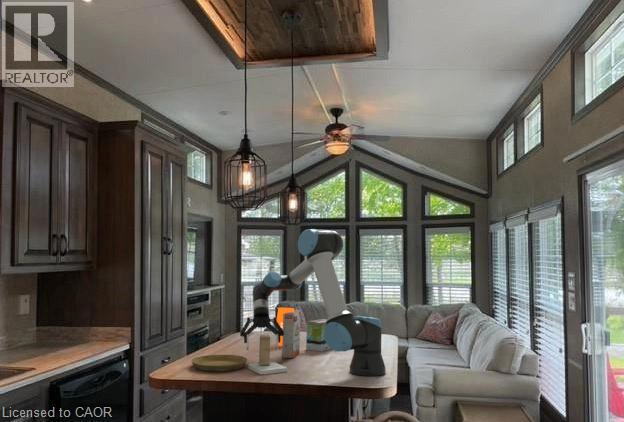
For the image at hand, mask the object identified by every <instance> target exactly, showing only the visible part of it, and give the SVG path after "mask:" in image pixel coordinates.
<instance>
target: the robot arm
mask: <svg viewBox="0 0 624 422" xmlns="http://www.w3.org/2000/svg"><path fill="white" fill-rule="evenodd" d="M343 248H344V240H343V238H342V236H341V234H339V232H337V231H335V230H331V229H329V230H328V229H316V228H311V229H309V228H308V229H305V230H304V231H302V232H301V234H300V235H299V238H298V241H297V250H298V252H299V253H300V255H302V256H304V257H306V258H305V259H304V260H303V261H302V262H301V263H300V264H298V265H297V266H296V267H295V268H293V269H292V270H291V271H290V272H289V273H288V274H285V275H283V274H282V275H281V274H280V273H279V272H278V271H274V270H270V271H269V272H268V273H267V274H266V275H265V276H264V277H263V279H262V280H261V282H257V283H254V285H253V287H252V303H253V304H252V306H253V310H252V311H253V312H252V313H253V318H250V317H247V320H246V322H245V324H244V325H243V327H242V328H241V331H240V333H239V334H240V335H239V336H240V338H241V337H242V338H243V342H244V344H246V350H247V351H249V348H250V345H249V343H250V342H249V340H250V339H249V336H250V334H251V333H252V332H253V331H255V329H257V328H258V329H259V328H260V329H261V328H266V329H268V330H269V331H270V332H271V333H273V334H274V335H275V346H276V350H277V351H278V350H279V347H280V346H279V342H280V340H281V338H280V336H283V335H284V331H283V330H282V328H281V327H280V325H279V324H278V322H277V317H273V318H271V317H270V306H269V297H270V296H271V295H272V293H273V292H274V291H276V292H277V291H278V292H279V291H297V290H299V289H301V287H302V286H303V282H305V280H307V278H309V277H310V276H311V275H313V274H314V275H315V278H316V281H317V285H318V287H319V291H320V295H321V298H322V302H323V305H324V307H325V310H326V314H327V320H326V324H327V325H326V327H325V329H324V331H325V332H324V338H325V341H326V343H327V345H328V346H329V347H330V348H331V349H330V350H332V351H335V352H347V351H351V350H352V351H353V353H352V358H351V360H350V364H349V373H350V374H353V375H357V376H363V377H378V376H384V375H385V374H387V373H386V371H387V370H386V365H385V361H384V358H383V355H382V329H383V327H382V320H381V319H379V318H378V317H370V316H362V315H355V316H354V315H353V312H351V311H349V310H348V308H347V304H346V301H345V298H344V295H343V292H342V288H341V285H340V283H339V282H340V281H339V279H338V276H337V273H336V270H335V267H334V264H333V260H335V259H336V258H337V257H338V256H339V255H340V254H341V252H342V251H343ZM251 323H252V325H251V326H250V324H251ZM249 326H250V327H249Z"/></svg>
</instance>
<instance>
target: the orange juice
mask: <svg viewBox="0 0 624 422" xmlns="http://www.w3.org/2000/svg"><path fill="white" fill-rule="evenodd" d="M289 311H295V308H294V307H278V310H277V316H276V321H277V322H278V324H279V325H280V327H281V328H282V330H283V314H285V313H287V312H289ZM280 338H281V340H280V342H279V347H282V339H283V336H280Z"/></svg>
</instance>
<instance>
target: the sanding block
mask: <svg viewBox="0 0 624 422" xmlns="http://www.w3.org/2000/svg"><path fill="white" fill-rule="evenodd" d="M270 358H271V336H270V335H269V334H259V359H258V363H259V364H260V366H270V362H271V361H270V360H271V359H270Z"/></svg>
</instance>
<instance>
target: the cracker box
mask: <svg viewBox="0 0 624 422" xmlns="http://www.w3.org/2000/svg"><path fill="white" fill-rule="evenodd" d="M283 331H284V335H283V339H282V346H281V358H282V359H294V358H296V356H298V355H299V354H300V343H301V342H300V341H301V340H300V336H301V311H300V310H299V311H297V310H296V311H295V310H294V311H289V312H287V313H285V314H283Z"/></svg>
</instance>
